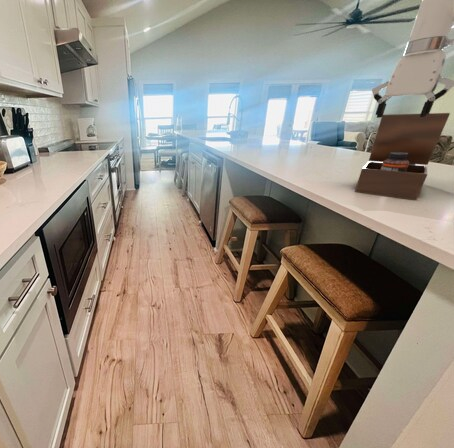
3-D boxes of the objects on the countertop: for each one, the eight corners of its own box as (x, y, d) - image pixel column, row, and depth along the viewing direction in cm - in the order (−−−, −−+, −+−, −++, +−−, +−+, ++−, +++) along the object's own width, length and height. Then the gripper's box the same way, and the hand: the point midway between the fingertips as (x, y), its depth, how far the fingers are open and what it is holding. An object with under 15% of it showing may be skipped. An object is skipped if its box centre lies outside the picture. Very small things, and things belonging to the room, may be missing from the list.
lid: (450, 113, 67) (450, 112, 67) (382, 115, 76) (382, 114, 76) (427, 164, 75) (427, 164, 75) (368, 160, 84) (368, 160, 84)
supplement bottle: (389, 186, 80) (402, 151, 76) (404, 191, 75) (419, 153, 70) (369, 186, 81) (381, 151, 76) (383, 191, 76) (396, 154, 71)
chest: (416, 200, 69) (427, 174, 66) (354, 191, 78) (361, 168, 75) (417, 189, 78) (427, 165, 75) (361, 182, 87) (368, 161, 84)
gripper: (475, 42, 61) (444, 116, 68) (386, 56, 74) (368, 117, 81) (472, 38, 57) (439, 117, 64) (378, 54, 70) (360, 118, 77)
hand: (399, 117), depth 73 cm, fingers open, 9 cm apart
